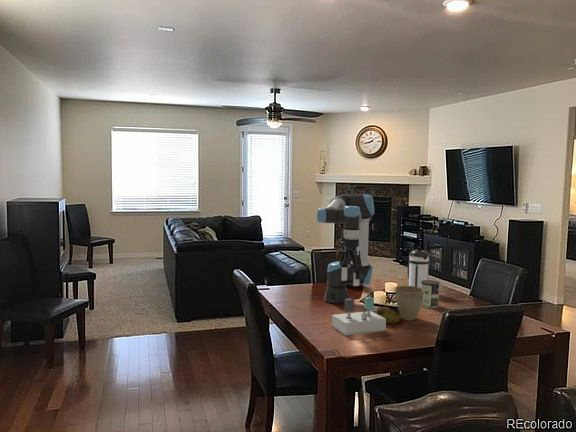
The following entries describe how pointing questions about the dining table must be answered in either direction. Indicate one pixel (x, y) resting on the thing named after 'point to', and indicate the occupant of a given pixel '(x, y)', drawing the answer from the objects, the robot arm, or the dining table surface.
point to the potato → (389, 315)
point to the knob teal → (369, 304)
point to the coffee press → (418, 267)
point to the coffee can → (430, 293)
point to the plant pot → (409, 301)
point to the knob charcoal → (349, 307)
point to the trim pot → (364, 316)
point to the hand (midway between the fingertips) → (350, 283)
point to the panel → (358, 323)
